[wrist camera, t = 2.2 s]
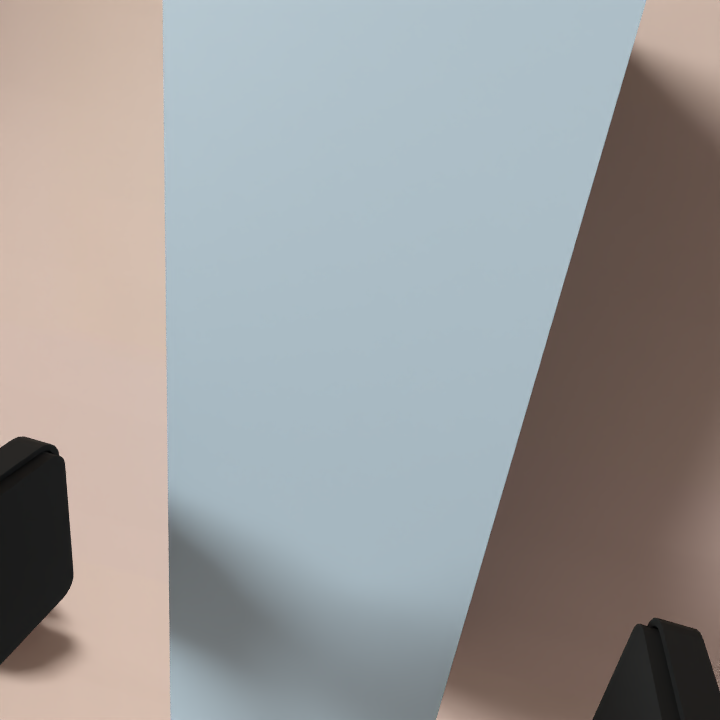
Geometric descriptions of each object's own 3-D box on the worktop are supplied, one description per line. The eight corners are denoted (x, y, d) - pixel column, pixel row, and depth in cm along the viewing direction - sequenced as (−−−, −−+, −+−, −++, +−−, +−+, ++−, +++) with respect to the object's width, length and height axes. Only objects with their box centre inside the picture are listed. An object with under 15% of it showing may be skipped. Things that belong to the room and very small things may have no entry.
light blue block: (327, -11, 12) (161, -82, 7) (594, 24, 11) (653, -25, 6) (272, 591, 19) (171, 791, 14) (432, 640, 18) (390, 873, 13)
